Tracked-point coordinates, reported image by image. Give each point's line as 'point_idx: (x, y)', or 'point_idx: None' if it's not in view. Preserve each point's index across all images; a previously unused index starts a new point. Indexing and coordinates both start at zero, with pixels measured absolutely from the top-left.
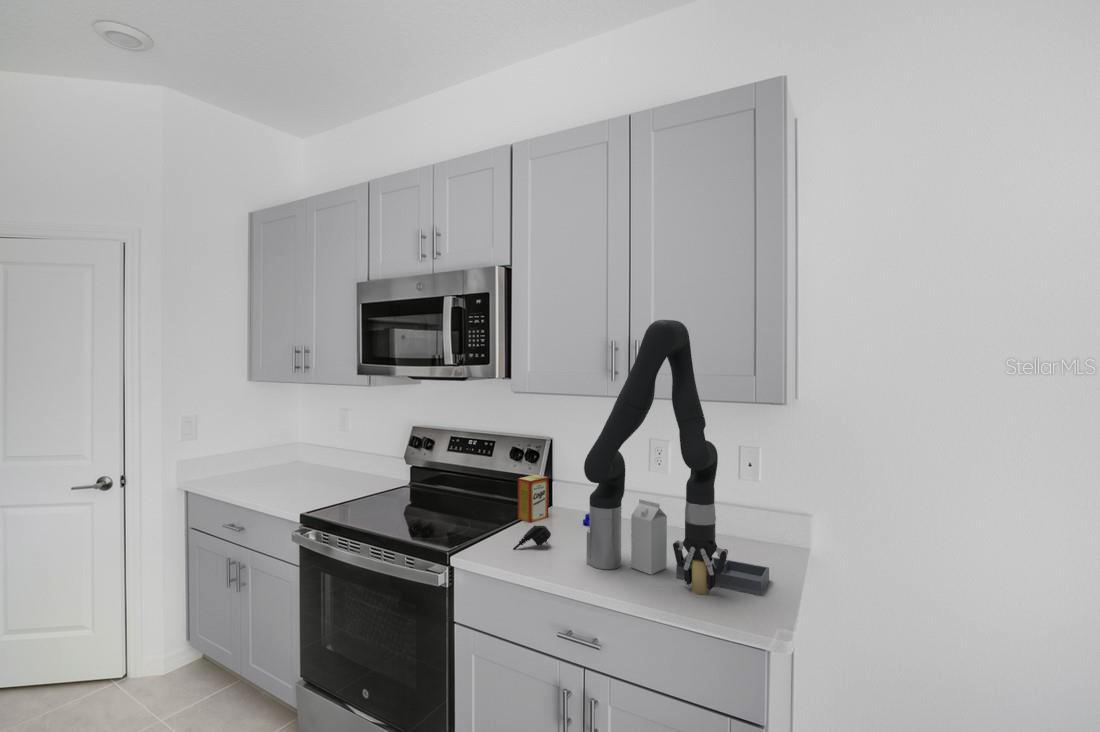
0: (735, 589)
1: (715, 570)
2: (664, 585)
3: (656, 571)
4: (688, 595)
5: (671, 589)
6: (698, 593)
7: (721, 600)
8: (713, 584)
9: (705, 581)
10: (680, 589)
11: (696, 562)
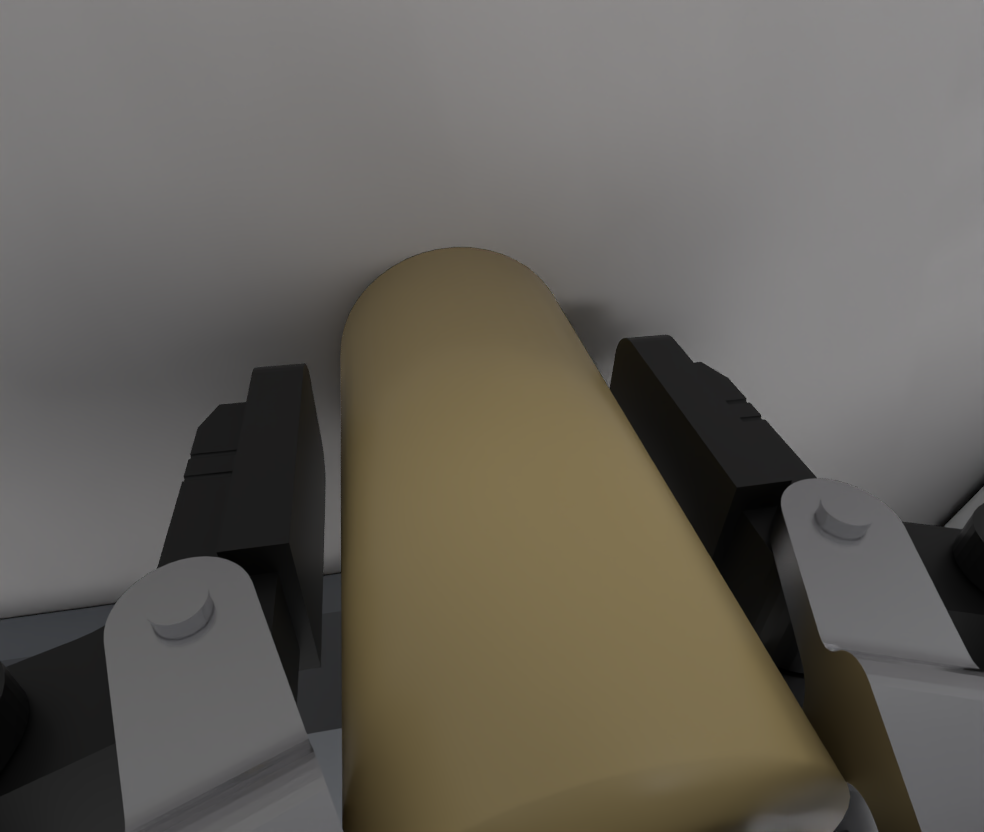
0: (95, 614)
1: (68, 730)
2: (919, 264)
3: (976, 507)
4: (569, 111)
5: (834, 189)
6: (440, 253)
7: (17, 233)
8: (201, 442)
9: (355, 432)
10: (710, 263)
11: (689, 747)
